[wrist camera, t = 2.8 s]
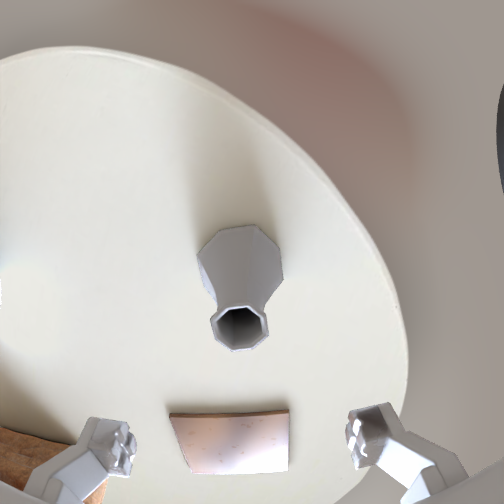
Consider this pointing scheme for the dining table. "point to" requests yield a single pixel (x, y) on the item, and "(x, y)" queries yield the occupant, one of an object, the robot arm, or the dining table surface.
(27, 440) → the bread
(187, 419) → the coaster
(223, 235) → the flask
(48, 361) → the dining table surface
